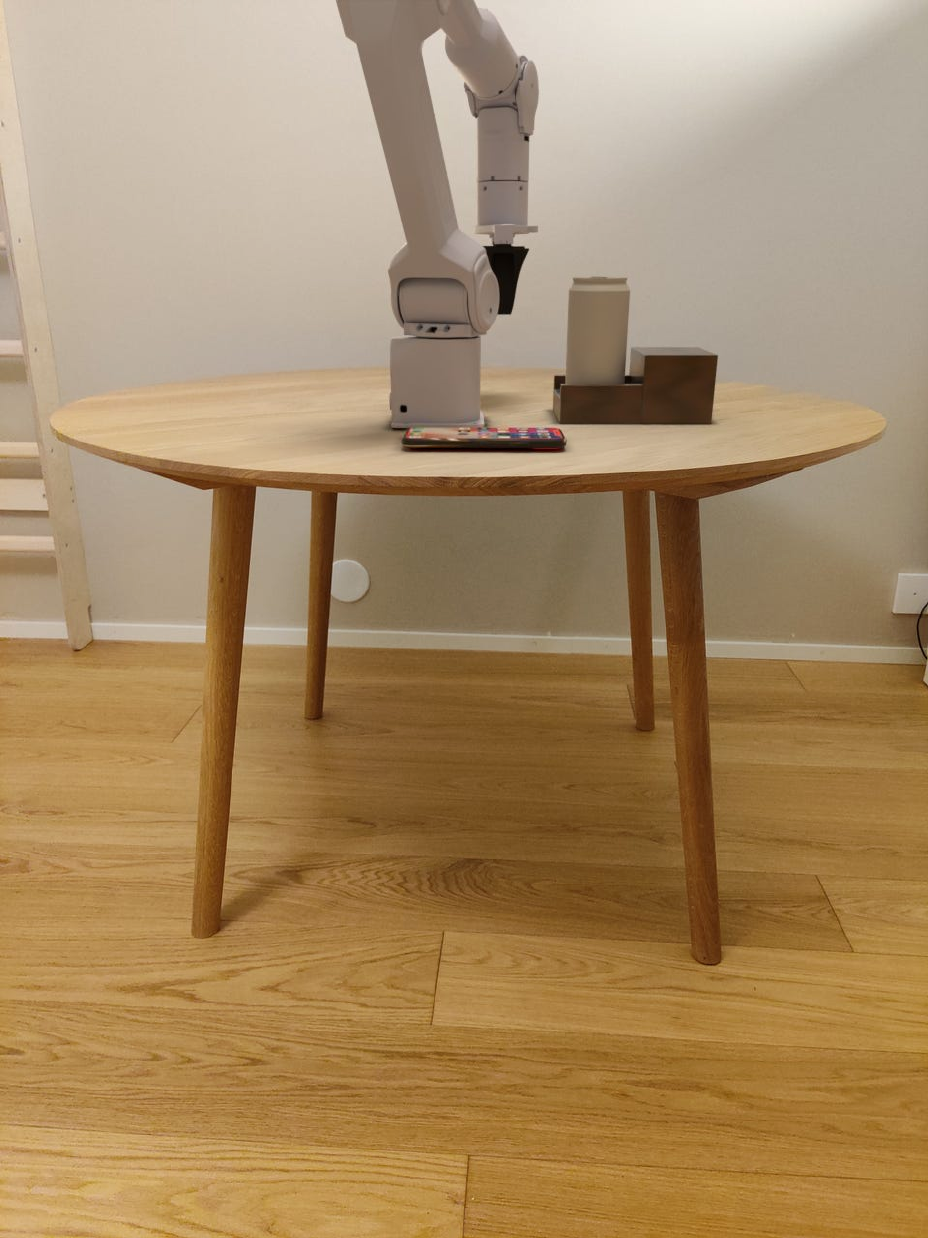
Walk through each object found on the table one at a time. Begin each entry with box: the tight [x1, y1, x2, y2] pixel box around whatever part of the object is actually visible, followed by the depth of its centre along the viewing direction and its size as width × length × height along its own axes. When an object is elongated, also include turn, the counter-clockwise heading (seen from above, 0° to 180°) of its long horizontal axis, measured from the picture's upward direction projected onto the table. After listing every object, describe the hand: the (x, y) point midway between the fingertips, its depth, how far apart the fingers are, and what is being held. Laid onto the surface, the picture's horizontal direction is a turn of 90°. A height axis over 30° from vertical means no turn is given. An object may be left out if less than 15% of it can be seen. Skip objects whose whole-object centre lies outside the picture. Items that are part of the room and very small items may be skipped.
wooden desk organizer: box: [552, 346, 719, 425], centre depth 100 cm, size 16×9×7 cm, turn 90°
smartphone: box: [401, 426, 567, 450], centre depth 86 cm, size 7×1×15 cm
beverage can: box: [565, 276, 631, 384], centre depth 98 cm, size 6×6×12 cm
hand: (500, 312), depth 106 cm, fingers open, 7 cm apart
